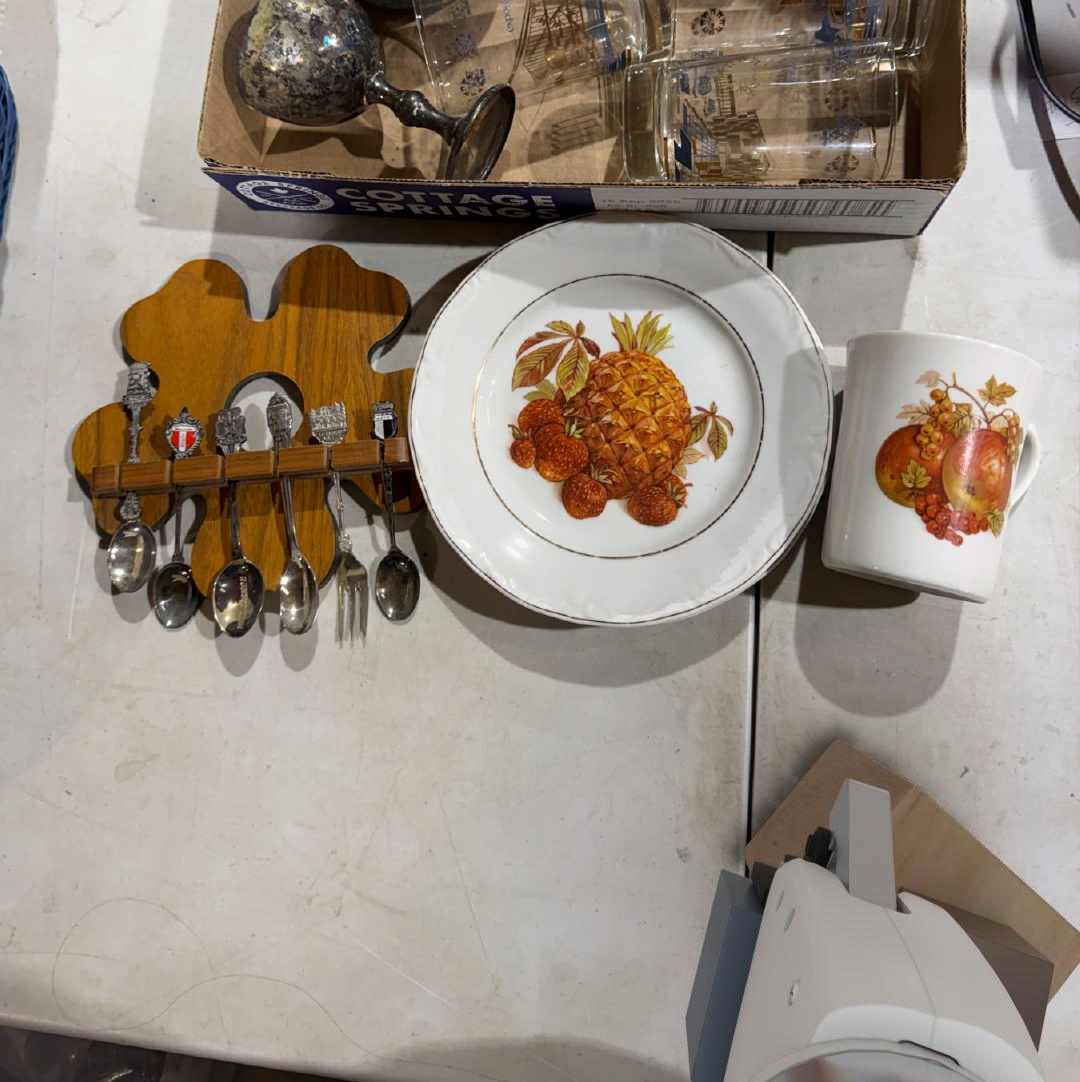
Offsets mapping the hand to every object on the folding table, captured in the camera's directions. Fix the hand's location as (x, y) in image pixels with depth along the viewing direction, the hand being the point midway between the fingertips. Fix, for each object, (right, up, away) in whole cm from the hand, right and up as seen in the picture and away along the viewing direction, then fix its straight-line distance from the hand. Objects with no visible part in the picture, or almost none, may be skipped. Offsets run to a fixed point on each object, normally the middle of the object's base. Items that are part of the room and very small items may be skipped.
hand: (777, 974), depth 33 cm
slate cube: (0, 0, 0) cm, 0 cm away
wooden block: (+12, -11, +30) cm, 34 cm away
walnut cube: (+10, -6, +11) cm, 16 cm away
